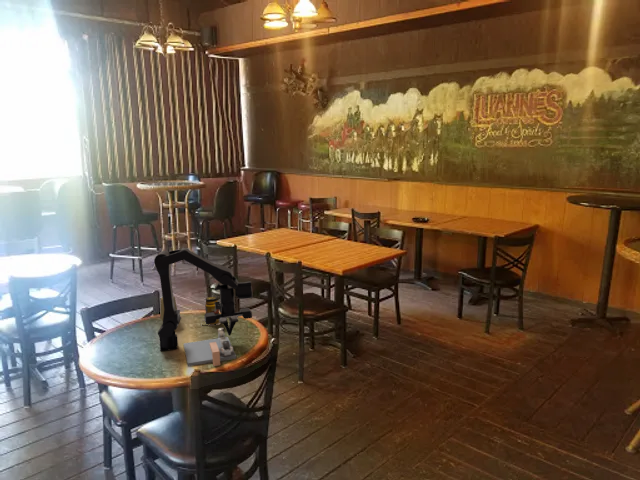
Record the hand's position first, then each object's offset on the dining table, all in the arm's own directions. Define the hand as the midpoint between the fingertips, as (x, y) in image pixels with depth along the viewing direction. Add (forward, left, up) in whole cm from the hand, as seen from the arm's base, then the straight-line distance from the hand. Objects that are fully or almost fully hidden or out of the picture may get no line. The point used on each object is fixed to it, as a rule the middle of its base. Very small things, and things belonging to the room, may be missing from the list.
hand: (229, 335), depth 206 cm
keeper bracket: (-8, -14, -3) cm, 16 cm away
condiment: (-4, +27, -4) cm, 28 cm away
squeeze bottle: (-22, +35, -4) cm, 42 cm away
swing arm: (-3, -7, -2) cm, 8 cm away
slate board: (-9, -6, -3) cm, 11 cm away
